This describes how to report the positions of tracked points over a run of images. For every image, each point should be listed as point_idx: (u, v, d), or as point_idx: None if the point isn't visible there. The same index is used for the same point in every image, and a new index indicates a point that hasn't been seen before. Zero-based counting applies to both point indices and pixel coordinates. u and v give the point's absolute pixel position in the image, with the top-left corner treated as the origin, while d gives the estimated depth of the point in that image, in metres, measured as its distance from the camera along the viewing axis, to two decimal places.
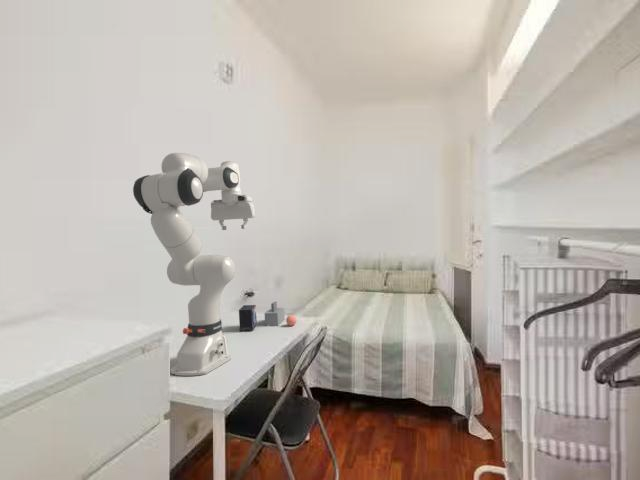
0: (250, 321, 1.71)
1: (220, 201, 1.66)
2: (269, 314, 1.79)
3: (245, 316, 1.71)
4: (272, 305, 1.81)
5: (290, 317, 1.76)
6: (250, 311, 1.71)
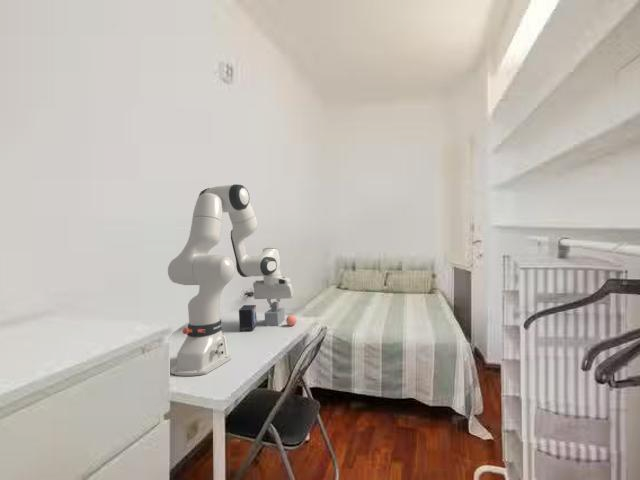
0: (250, 321, 1.71)
1: (262, 282, 1.84)
2: (269, 314, 1.79)
3: (245, 316, 1.71)
4: (272, 305, 1.81)
5: (290, 317, 1.76)
6: (250, 311, 1.71)
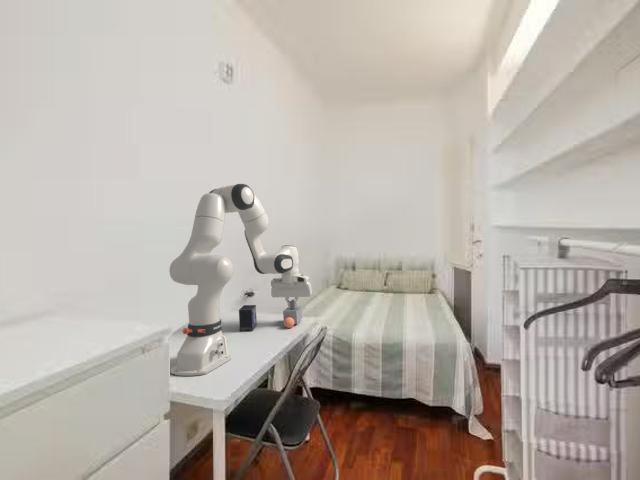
0: (250, 321, 1.71)
1: (280, 280, 1.81)
2: (288, 312, 1.76)
3: (245, 316, 1.71)
4: (291, 303, 1.79)
5: (288, 326, 1.72)
6: (250, 311, 1.71)
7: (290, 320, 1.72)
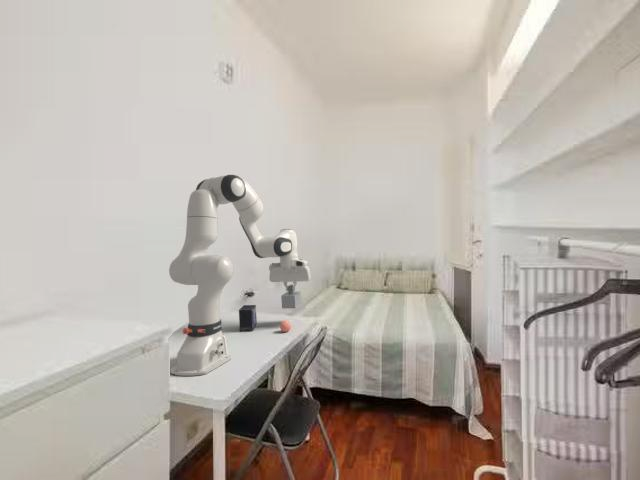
0: (250, 321, 1.71)
1: (278, 264, 1.79)
2: (286, 296, 1.74)
3: (245, 316, 1.71)
4: (289, 287, 1.77)
5: None
6: (250, 311, 1.71)
7: None
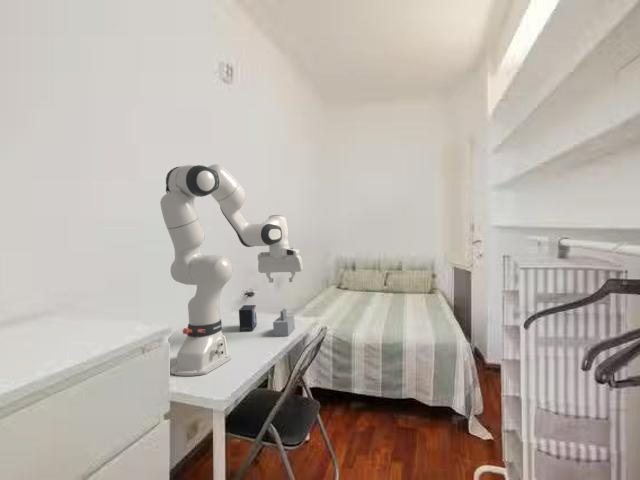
0: (250, 321, 1.71)
1: (267, 254, 1.65)
2: (278, 323, 1.61)
3: (245, 316, 1.71)
4: (281, 313, 1.63)
5: None
6: (250, 311, 1.71)
7: None
